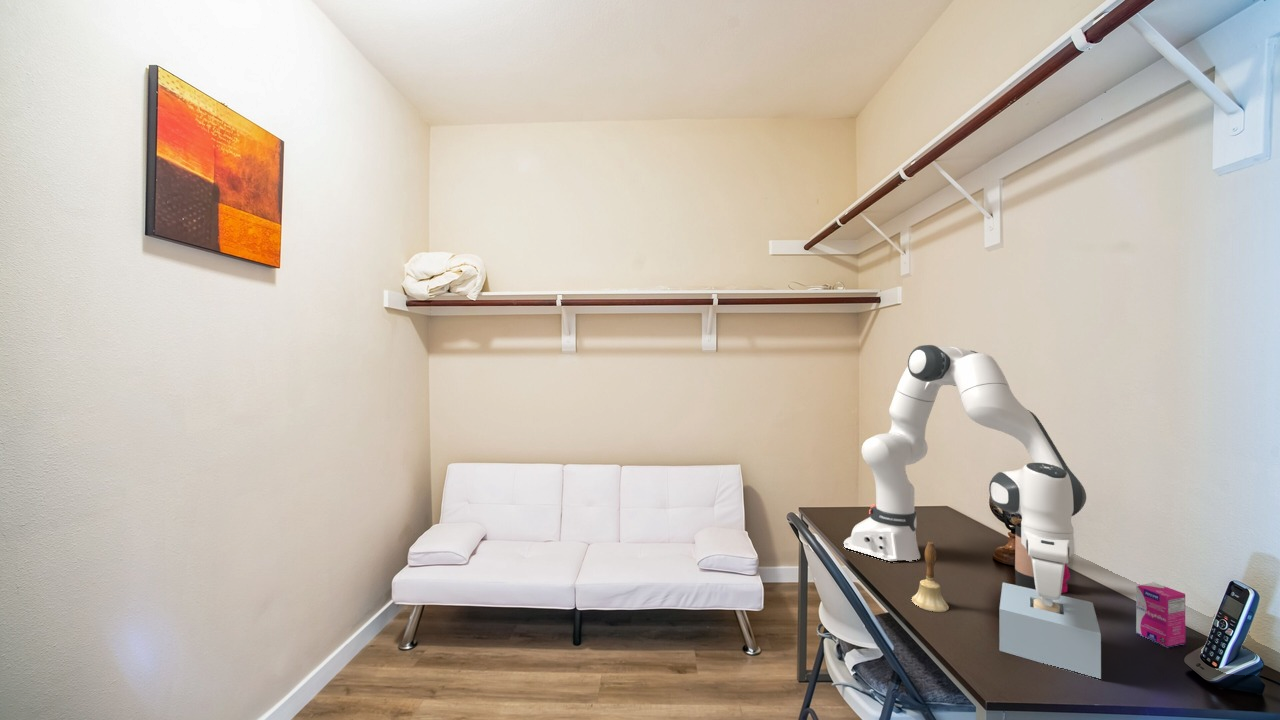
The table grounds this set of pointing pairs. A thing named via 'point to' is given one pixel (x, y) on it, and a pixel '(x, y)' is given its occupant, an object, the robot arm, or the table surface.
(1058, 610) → the peg
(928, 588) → the hand bell
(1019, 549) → the travel mug
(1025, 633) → the socket block
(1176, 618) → the supplement box
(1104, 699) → the table surface
